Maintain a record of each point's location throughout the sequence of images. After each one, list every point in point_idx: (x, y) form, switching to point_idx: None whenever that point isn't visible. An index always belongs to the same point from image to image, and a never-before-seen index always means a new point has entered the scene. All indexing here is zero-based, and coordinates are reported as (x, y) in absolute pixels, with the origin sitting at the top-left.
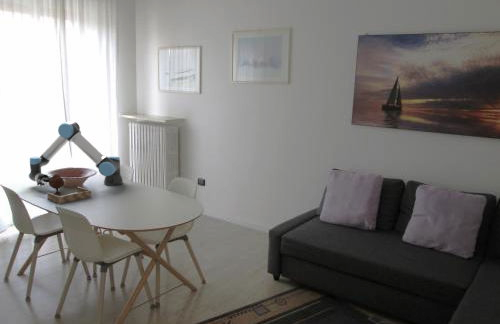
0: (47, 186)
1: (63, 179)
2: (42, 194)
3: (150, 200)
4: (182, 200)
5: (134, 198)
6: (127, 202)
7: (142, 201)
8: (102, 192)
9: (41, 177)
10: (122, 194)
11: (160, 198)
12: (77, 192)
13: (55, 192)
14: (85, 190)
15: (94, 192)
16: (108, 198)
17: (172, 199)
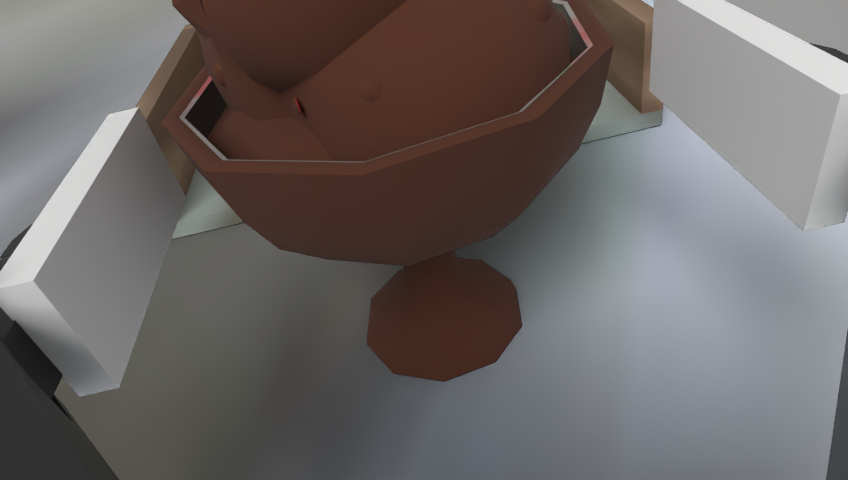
0: (650, 90)
1: (94, 145)
2: (783, 416)
3: (69, 15)
4: (4, 6)
5: (71, 40)
6: (169, 7)
7: (108, 10)
8: (2, 178)
9: None
10: (3, 101)
11: (8, 27)
12: (187, 211)
13: (475, 281)
14: (190, 60)
15: (39, 200)
16: (161, 58)
17: (4, 15)
